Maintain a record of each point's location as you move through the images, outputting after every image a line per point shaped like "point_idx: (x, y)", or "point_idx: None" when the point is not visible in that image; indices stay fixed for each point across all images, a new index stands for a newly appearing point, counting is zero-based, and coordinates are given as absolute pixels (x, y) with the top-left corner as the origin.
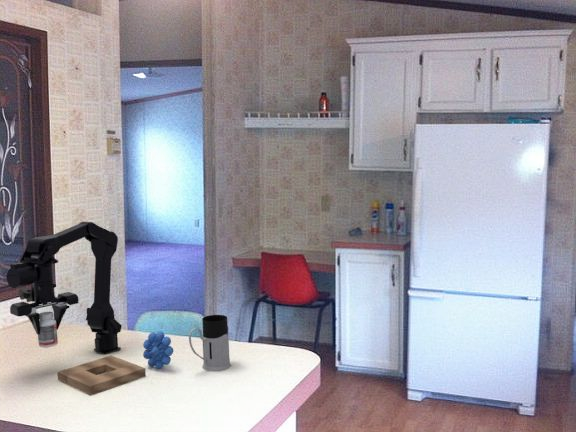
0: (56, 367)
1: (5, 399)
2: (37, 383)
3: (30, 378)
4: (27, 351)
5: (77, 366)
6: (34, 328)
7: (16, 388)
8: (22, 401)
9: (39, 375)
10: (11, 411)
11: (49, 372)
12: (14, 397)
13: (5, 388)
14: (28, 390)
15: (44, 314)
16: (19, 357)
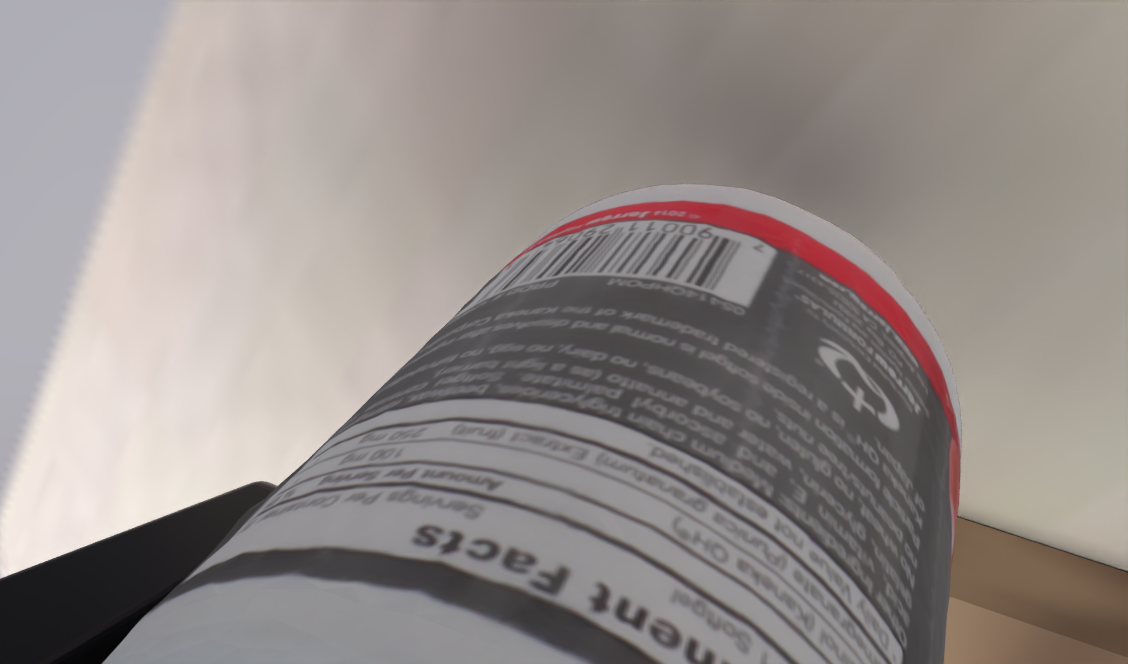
0: (1123, 2)
1: (82, 301)
2: (482, 276)
3: (536, 33)
4: None
5: (949, 632)
6: (56, 589)
7: (259, 165)
8: (169, 476)
9: (684, 55)
10: (47, 527)
11: (855, 96)
12: (154, 344)
13: (177, 35)
14: (314, 339)
15: None
16: None
